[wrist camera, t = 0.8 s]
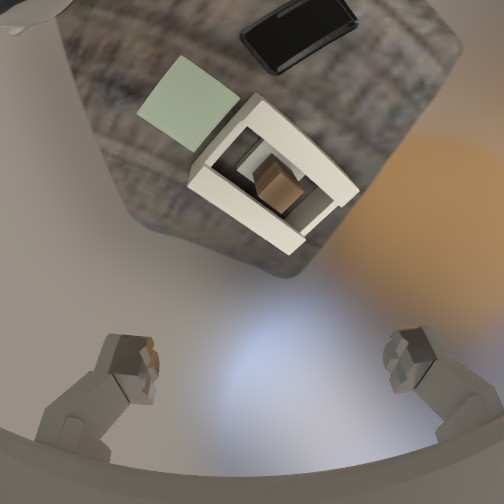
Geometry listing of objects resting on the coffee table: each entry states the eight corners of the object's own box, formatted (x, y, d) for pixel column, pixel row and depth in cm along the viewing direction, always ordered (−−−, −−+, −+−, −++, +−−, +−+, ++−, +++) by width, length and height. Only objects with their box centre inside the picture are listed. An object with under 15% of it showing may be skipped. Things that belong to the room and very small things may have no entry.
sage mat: (137, 113, 36) (136, 113, 36) (181, 54, 32) (180, 54, 32) (194, 151, 41) (193, 152, 41) (240, 97, 37) (240, 98, 36)
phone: (361, 25, 30) (273, 79, 35) (358, 25, 31) (272, 78, 36) (328, -20, 26) (236, 34, 31) (325, -19, 27) (235, 35, 32)
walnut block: (252, 173, 42) (257, 196, 36) (271, 152, 40) (280, 172, 35) (272, 189, 44) (281, 214, 38) (292, 170, 42) (303, 192, 37)
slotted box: (191, 165, 42) (187, 186, 37) (256, 91, 36) (262, 99, 31) (280, 229, 51) (288, 255, 45) (342, 170, 45) (359, 190, 39)
